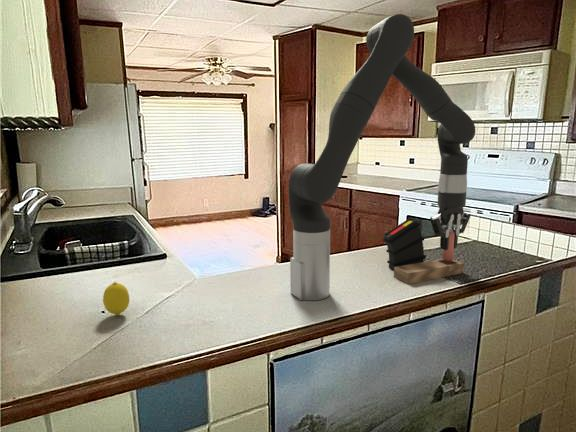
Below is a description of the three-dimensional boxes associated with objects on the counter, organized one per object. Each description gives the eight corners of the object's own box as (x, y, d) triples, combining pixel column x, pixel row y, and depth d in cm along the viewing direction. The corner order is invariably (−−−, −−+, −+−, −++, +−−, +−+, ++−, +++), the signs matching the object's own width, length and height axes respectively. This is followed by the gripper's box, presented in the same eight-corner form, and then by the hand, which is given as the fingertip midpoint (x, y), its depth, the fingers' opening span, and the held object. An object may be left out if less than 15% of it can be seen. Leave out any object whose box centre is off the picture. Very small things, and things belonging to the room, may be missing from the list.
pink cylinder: (447, 260, 122) (449, 230, 120) (440, 258, 125) (442, 228, 123) (455, 259, 123) (457, 229, 122) (447, 257, 126) (449, 227, 124)
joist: (407, 283, 115) (408, 273, 115) (393, 277, 121) (394, 267, 120) (463, 272, 124) (464, 263, 123) (448, 267, 129) (448, 257, 128)
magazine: (433, 260, 130) (418, 219, 125) (400, 283, 127) (383, 241, 122) (425, 257, 134) (410, 216, 129) (392, 279, 131) (376, 238, 126)
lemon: (103, 322, 94) (99, 287, 92) (106, 312, 99) (103, 279, 98) (129, 318, 95) (126, 285, 94) (131, 309, 101) (128, 277, 99)
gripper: (460, 186, 126) (456, 242, 130) (423, 189, 121) (420, 248, 124) (481, 189, 119) (476, 248, 123) (443, 193, 114) (439, 255, 117)
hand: (448, 248), depth 123 cm, fingers closed on pink cylinder, 2 cm apart
